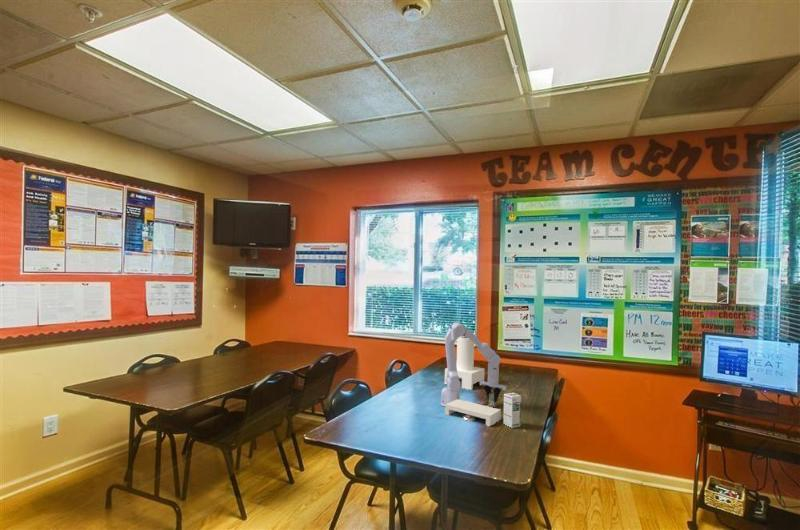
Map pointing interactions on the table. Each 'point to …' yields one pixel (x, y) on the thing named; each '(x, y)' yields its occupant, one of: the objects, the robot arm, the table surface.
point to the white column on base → (467, 364)
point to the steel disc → (468, 418)
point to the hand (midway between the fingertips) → (492, 401)
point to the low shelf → (474, 410)
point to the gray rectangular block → (491, 400)
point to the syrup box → (512, 410)
